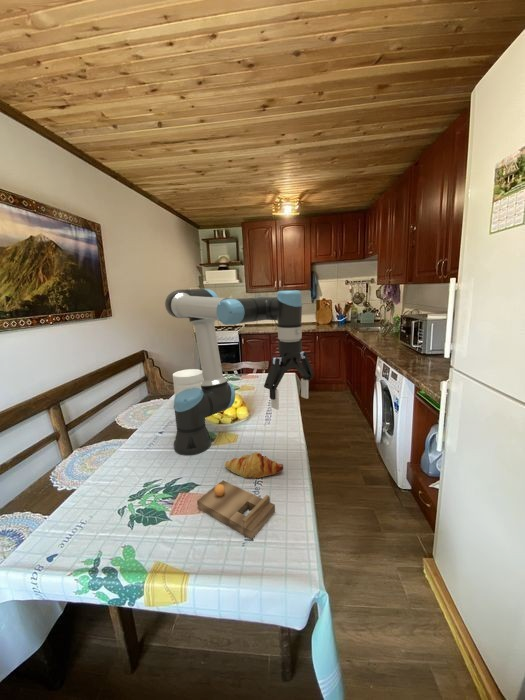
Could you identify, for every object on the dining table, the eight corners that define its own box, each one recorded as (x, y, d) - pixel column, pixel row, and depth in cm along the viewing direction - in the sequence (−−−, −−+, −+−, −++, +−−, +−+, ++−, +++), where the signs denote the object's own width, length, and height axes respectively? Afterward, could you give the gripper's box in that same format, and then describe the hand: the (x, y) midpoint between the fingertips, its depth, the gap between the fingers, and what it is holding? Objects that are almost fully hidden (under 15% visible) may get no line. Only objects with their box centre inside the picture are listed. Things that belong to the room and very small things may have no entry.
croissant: (223, 482, 100) (218, 470, 95) (229, 456, 108) (225, 444, 103) (283, 486, 97) (281, 474, 92) (285, 458, 104) (283, 446, 99)
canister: (192, 399, 172) (189, 367, 168) (211, 404, 163) (208, 371, 159) (170, 408, 159) (166, 374, 155) (189, 415, 150) (185, 378, 146)
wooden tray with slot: (197, 508, 84) (196, 494, 83) (223, 487, 93) (222, 474, 92) (251, 539, 72) (250, 524, 71) (275, 512, 81) (274, 498, 80)
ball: (212, 495, 85) (211, 486, 84) (219, 489, 88) (219, 480, 87) (220, 500, 83) (219, 490, 83) (227, 493, 86) (227, 484, 85)
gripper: (267, 347, 80) (268, 417, 84) (324, 336, 95) (323, 396, 99) (251, 343, 86) (253, 409, 90) (308, 334, 101) (307, 390, 105)
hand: (290, 402), depth 95 cm, fingers open, 13 cm apart
